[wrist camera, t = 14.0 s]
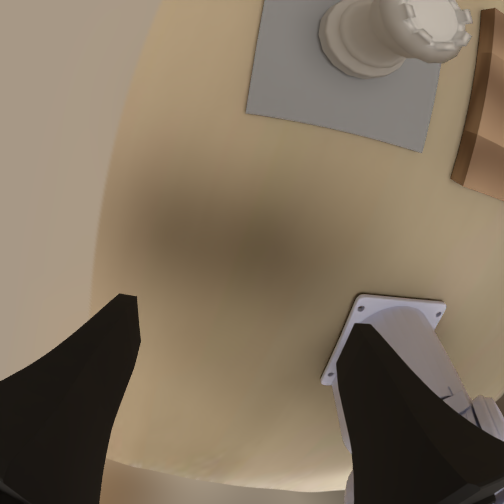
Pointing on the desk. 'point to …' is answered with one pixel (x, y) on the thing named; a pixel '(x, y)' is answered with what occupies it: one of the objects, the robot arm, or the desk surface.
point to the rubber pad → (334, 82)
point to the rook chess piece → (391, 34)
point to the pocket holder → (485, 114)
